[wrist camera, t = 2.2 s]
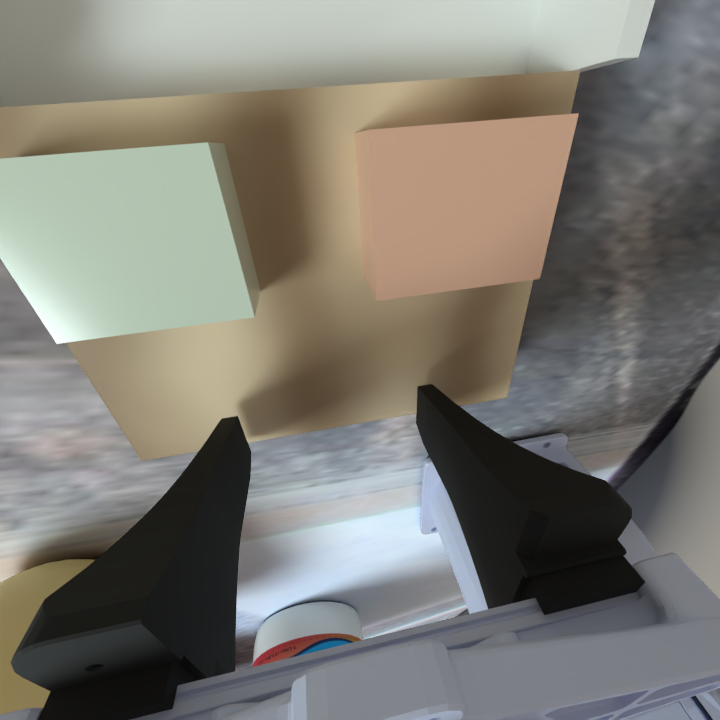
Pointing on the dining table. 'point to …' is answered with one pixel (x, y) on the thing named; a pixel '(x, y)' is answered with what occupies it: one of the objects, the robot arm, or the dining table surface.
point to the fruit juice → (306, 631)
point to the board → (297, 264)
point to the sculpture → (27, 626)
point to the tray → (296, 44)
